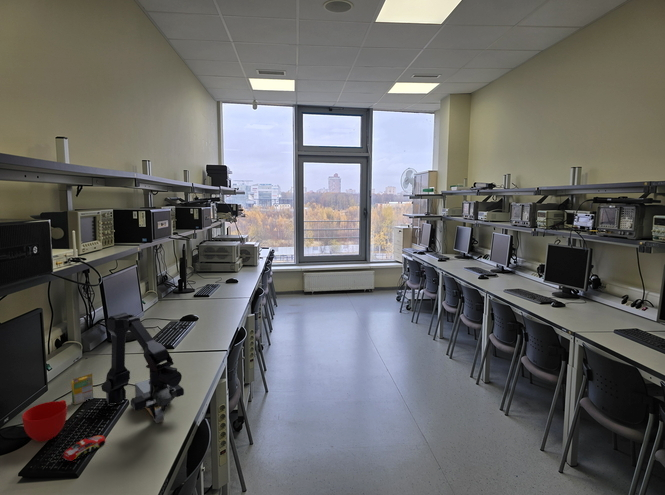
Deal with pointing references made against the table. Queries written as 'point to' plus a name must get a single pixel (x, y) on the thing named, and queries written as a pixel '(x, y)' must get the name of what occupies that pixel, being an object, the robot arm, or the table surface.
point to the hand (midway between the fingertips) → (158, 416)
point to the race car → (84, 447)
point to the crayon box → (82, 389)
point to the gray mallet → (157, 415)
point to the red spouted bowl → (45, 420)
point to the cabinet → (143, 389)
